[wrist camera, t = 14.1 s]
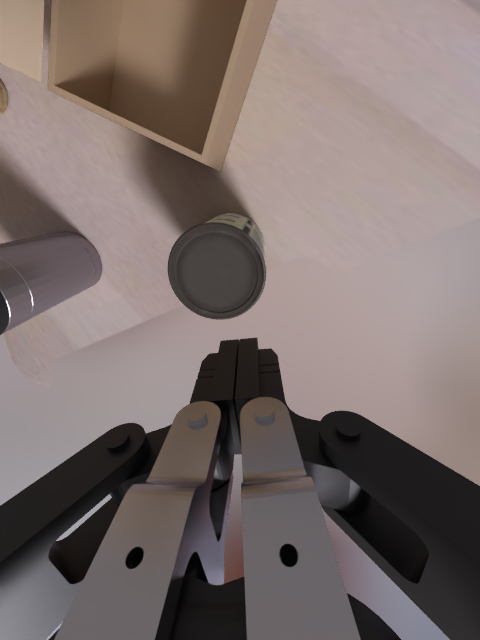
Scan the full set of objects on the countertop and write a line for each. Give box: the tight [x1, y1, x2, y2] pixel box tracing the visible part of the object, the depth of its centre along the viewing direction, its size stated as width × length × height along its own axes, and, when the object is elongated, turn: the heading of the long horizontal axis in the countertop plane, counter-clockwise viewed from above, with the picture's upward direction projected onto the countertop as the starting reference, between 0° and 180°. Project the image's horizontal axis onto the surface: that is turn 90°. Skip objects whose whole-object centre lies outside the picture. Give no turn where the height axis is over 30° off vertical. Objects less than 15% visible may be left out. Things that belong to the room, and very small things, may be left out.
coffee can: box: [168, 213, 266, 319], centre depth 33 cm, size 10×10×14 cm
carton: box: [47, 0, 277, 172], centre depth 25 cm, size 16×20×10 cm
